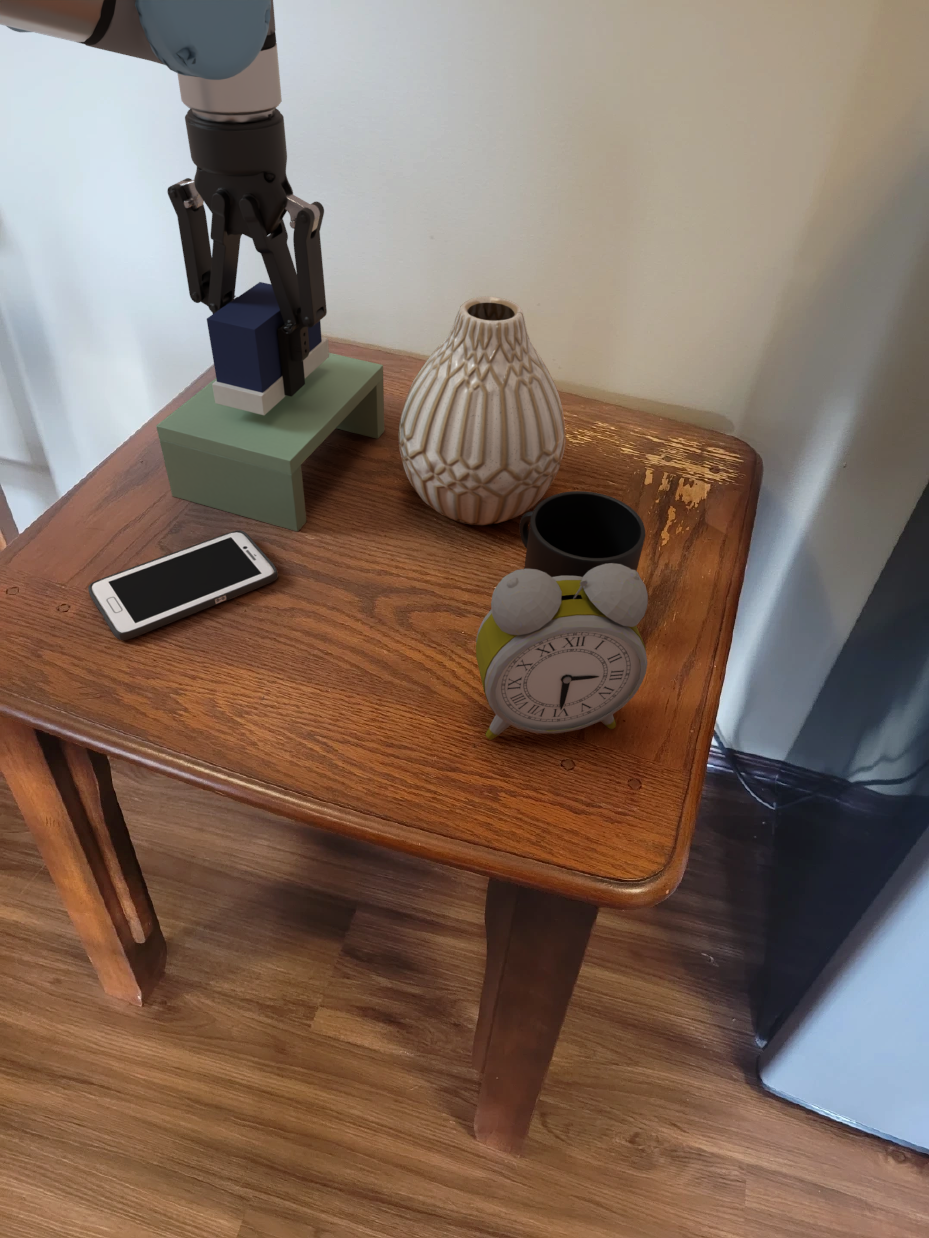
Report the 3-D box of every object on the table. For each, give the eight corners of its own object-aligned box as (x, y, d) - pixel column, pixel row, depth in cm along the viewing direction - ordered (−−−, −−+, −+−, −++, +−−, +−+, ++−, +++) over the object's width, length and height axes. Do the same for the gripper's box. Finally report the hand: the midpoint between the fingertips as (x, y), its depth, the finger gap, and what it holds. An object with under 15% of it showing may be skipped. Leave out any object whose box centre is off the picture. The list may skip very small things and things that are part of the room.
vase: (419, 447, 93) (422, 262, 79) (563, 469, 91) (592, 284, 77) (380, 534, 81) (375, 336, 68) (544, 561, 80) (574, 364, 66)
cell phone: (86, 592, 73) (83, 584, 73) (243, 535, 80) (242, 527, 79) (119, 645, 69) (116, 637, 68) (282, 580, 76) (281, 572, 75)
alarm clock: (479, 756, 63) (494, 608, 53) (465, 687, 68) (476, 539, 57) (629, 742, 65) (673, 596, 54) (606, 676, 69) (641, 530, 59)
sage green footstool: (172, 496, 84) (155, 425, 79) (273, 403, 98) (265, 338, 92) (297, 532, 81) (290, 461, 76) (384, 431, 95) (383, 364, 89)
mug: (551, 544, 82) (563, 464, 75) (647, 610, 75) (669, 529, 69) (478, 584, 77) (485, 503, 71) (575, 659, 71) (592, 577, 64)
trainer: (264, 415, 78) (253, 332, 72) (215, 403, 79) (200, 320, 73) (329, 356, 87) (324, 278, 81) (284, 346, 88) (276, 268, 82)
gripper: (361, 114, 66) (370, 385, 82) (161, 83, 70) (207, 347, 86) (316, 138, 61) (335, 422, 77) (103, 103, 65) (163, 380, 81)
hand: (267, 382), depth 82 cm, fingers closed on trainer, 5 cm apart
